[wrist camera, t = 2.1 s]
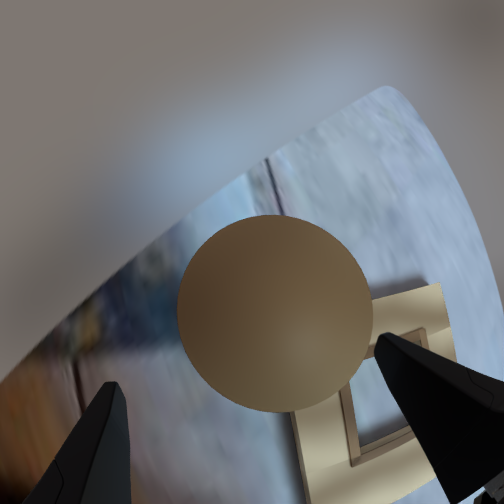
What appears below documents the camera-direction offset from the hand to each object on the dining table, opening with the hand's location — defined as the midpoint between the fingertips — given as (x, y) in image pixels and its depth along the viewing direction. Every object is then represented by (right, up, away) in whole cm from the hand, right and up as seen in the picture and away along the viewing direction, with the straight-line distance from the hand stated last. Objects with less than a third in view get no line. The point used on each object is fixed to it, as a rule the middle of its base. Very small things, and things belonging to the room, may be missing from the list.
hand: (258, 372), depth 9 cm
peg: (-2, -2, +9) cm, 9 cm away
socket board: (+9, -7, +9) cm, 15 cm away
